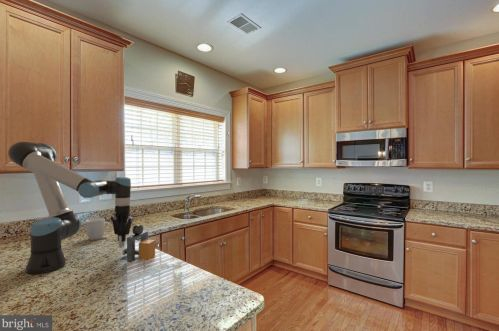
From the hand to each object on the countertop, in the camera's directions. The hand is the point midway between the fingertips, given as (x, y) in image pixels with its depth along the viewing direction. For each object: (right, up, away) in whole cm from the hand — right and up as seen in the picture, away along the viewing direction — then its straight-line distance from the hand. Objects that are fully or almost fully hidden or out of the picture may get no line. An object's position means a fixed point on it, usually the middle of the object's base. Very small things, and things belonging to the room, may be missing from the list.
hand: (121, 247), depth 137 cm
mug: (-33, -5, +31) cm, 46 cm away
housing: (+10, -5, -2) cm, 11 cm away
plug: (+10, -5, -2) cm, 11 cm away
